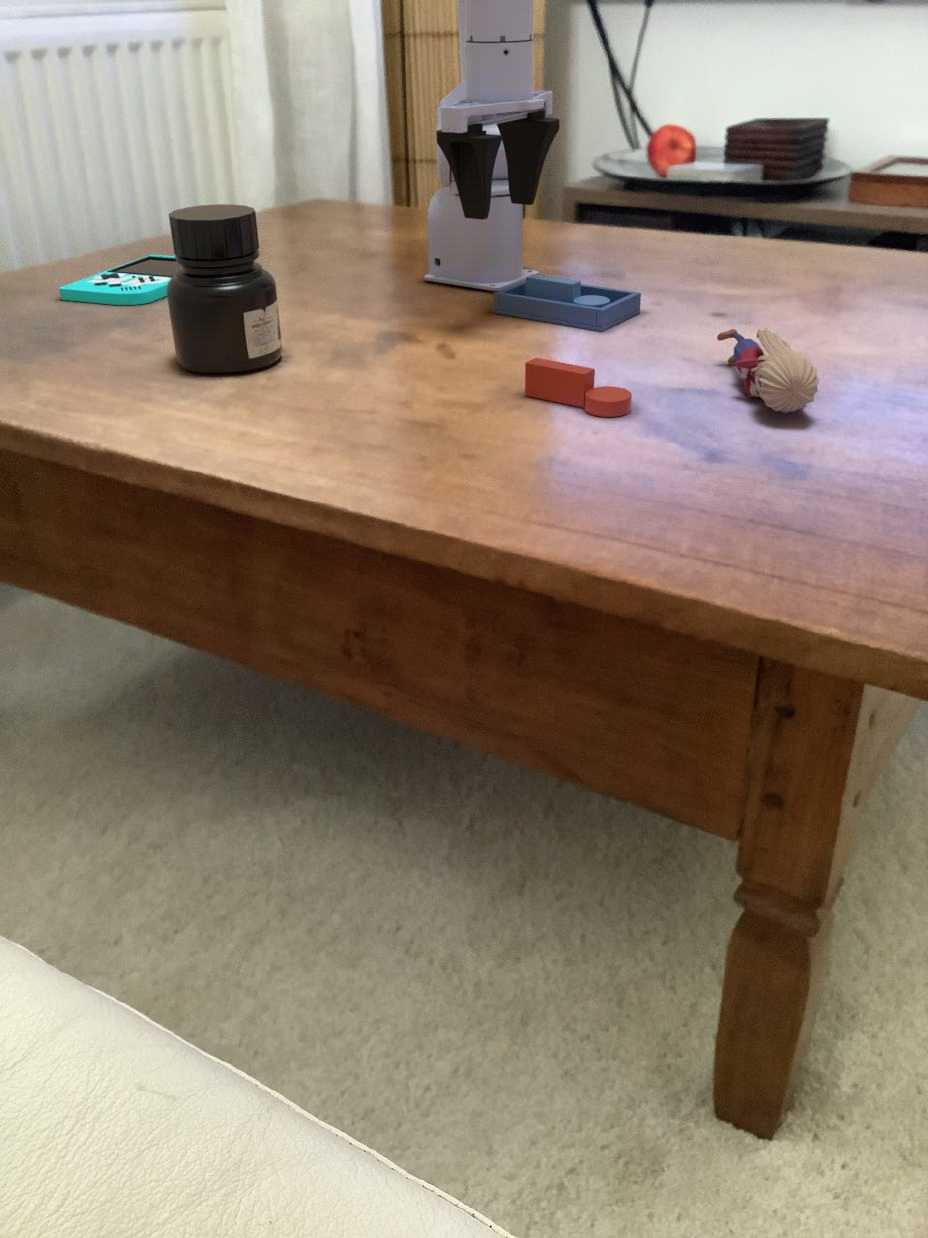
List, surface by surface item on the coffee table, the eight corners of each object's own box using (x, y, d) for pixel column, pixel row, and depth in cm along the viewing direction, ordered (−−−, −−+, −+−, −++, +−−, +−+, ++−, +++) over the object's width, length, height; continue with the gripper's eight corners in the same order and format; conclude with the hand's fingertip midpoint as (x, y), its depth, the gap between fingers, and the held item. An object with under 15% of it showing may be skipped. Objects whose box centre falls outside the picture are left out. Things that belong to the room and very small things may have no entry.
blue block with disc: (519, 306, 107) (519, 278, 106) (538, 298, 109) (539, 271, 108) (598, 319, 103) (599, 290, 101) (616, 310, 105) (617, 282, 104)
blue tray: (493, 312, 107) (493, 292, 106) (534, 296, 112) (534, 276, 111) (601, 331, 101) (602, 310, 100) (640, 312, 106) (641, 292, 105)
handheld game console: (57, 299, 114) (54, 285, 114) (151, 264, 127) (149, 251, 126) (139, 307, 111) (137, 293, 110) (227, 270, 124) (226, 257, 123)
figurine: (699, 323, 90) (751, 370, 77) (748, 296, 90) (809, 338, 76) (728, 385, 93) (783, 441, 79) (776, 359, 92) (840, 411, 79)
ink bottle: (284, 374, 92) (269, 220, 86) (174, 381, 91) (150, 226, 85) (281, 340, 100) (267, 198, 94) (180, 347, 99) (159, 203, 93)
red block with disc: (517, 399, 86) (518, 365, 84) (541, 386, 88) (542, 354, 87) (616, 420, 81) (618, 385, 80) (639, 406, 84) (641, 372, 82)
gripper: (491, 47, 87) (492, 229, 94) (584, 36, 97) (579, 201, 104) (418, 45, 91) (424, 221, 98) (515, 34, 101) (514, 194, 108)
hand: (499, 210), depth 101 cm, fingers open, 7 cm apart
